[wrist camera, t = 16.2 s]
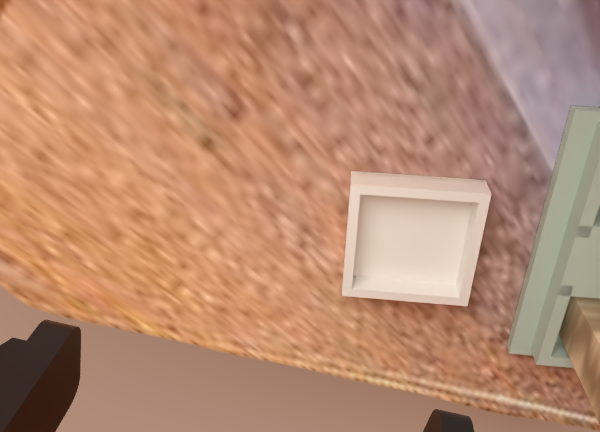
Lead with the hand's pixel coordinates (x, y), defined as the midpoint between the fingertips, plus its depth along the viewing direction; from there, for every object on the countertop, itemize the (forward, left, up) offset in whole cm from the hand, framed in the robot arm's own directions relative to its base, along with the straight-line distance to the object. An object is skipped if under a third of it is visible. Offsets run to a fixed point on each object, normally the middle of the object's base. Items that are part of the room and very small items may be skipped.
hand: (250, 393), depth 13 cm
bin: (+13, +10, -33) cm, 37 cm away
